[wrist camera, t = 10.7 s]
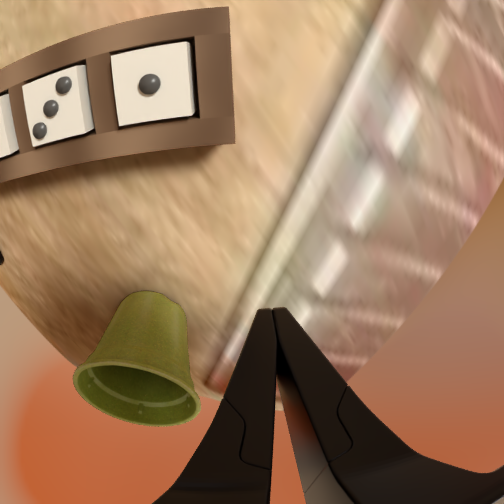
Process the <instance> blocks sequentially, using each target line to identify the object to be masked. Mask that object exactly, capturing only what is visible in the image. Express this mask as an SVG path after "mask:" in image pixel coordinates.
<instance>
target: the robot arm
mask: <svg viewBox="0 0 504 504" xmlns="http://www.w3.org/2000/svg"><path fill="white" fill-rule="evenodd" d="M3 261H4V259H3V257H2V255H1V252H0V265H1V264H2V263H3ZM276 377H277V382H278V387H279V391H280V395H281V400H282V404H283V408H284V412H285V416H286V421H287V425H288V429H289V433H290V437H291V442H292V446H293V450H294V454H295V459H296V463H297V467H298V471H299V475H300V479H301V484H302V488H303V492H304V496H305V500H306V504H504V465H503V466H501V467H500V468H498V469H496V470H495V471H493V472H490V473H477V472H472V471H468V470H465V469H462V468H458V467H455V466H452V465H449V464H446V463H442V462H440V461H437V460H434V459H431V458H428V457H425V456H423V455H421V454H419V453H417V452H416V451H414V450H413V449H411V448H410V447H409V446H408V445H406V444H405V443H404V442H403V441H402V440H401V439H400V438H399V437H398V436H397V435H396V434H395V433H393V432H392V431H391V430H390V429H389V428H388V427H387V426H386V425H385V424H384V423H383V422H382V421H380V420H379V419H378V418H377V417H376V415H375V414H373V413H372V412H371V411H370V410H369V409H368V407H367V406H366V405H365V404H364V403H363V402H362V401H361V400H360V399H359V397H358V396H357V395H356V394H355V392H354V391H353V390H352V389H351V387H350V386H347V385H348V384H347V383H346V381H345V380H344V379H343V378H342V377H341V375H340V374H339V373H338V372H337V370H336V369H335V368H334V367H333V365H332V364H331V363H330V362H329V360H328V359H327V358H326V357H325V355H324V354H323V353H322V352H321V351H320V349H319V348H318V347H317V346H316V344H315V343H314V342H313V341H312V339H311V338H310V337H309V336H308V334H307V333H306V332H305V331H304V329H303V328H302V327H301V326H300V324H299V323H298V322H297V321H296V319H295V318H294V317H293V316H292V314H291V313H290V312H289V311H288V309H287V308H285V307H278V308H273V309H270V308H264V309H258V310H257V312H256V315H255V318H254V320H253V323H252V325H251V328H250V331H249V333H248V336H247V338H246V341H245V343H244V346H243V348H242V351H241V354H240V356H239V359H238V361H237V364H236V366H235V369H234V371H233V374H232V376H231V379H230V381H229V384H228V386H227V389H226V391H225V394H224V396H223V399H222V401H221V403H220V406H219V408H218V410H217V412H216V415H215V417H214V419H213V421H212V423H211V425H210V427H209V429H208V431H207V433H206V434H205V436H204V438H203V440H202V441H201V443H200V445H199V446H198V448H197V449H196V451H195V453H194V454H193V456H192V458H191V459H190V461H189V462H188V464H187V465H186V467H185V469H184V470H183V472H182V473H181V475H180V476H179V477H178V479H177V480H176V481H175V483H174V484H173V485H172V486H171V487H170V488H169V489H168V490H167V491H166V492H165V493H164V494H163V495H162V496H160V497H159V498H158V499H157V500H156V501H154V502H153V503H152V504H270V491H271V475H272V457H273V440H274V419H275V418H274V417H275V397H276Z"/></svg>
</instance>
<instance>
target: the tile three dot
mask: <svg viewBox="0 0 504 504" xmlns="http://www.w3.org/2000/svg"><path fill="white" fill-rule="evenodd" d="M22 89H23V96H24V103H25V109H26V115H27V120H28V126H29V131H30V136H31V140H32V145H33V147H35V146H38V145H41V144H45V143H48V142H52V141H56V140H59V139H63V138H67V137H71V136H75V135H79V134H84V133H87V132H88V131H90V130H92V129H94V128H95V124H94V118H93V111H92V105H91V98H90V90H89V82H88V73H87V65H79V66H74V67H71V68H68V69H65V70H62V71H59V72H57V73H54V74H51V75H48V76H46V77H43V78H41V79H38V80H35V81H33V82H31V83H28V84H26V85H24V86H22Z"/></svg>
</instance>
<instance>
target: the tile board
mask: <svg viewBox="0 0 504 504" xmlns="http://www.w3.org/2000/svg"><path fill="white" fill-rule="evenodd" d="M180 42H188V43H190V44H192V45H193V50H194V66H195V80H196V94H197V106H198V109H197V110H196V111H195V112H194V114H193V115H192V116H183V117H175V118H167V119H160V120H153V121H146V122H140V123H134V124H128V125H122V126H119V121H118V115H117V107H116V100H115V92H114V84H113V74H112V64H111V56H113V55H117V54H121V53H125V52H130V51H134V50H139V49H144V48H149V47H155V46H160V45H167V44H173V43H180ZM79 65H87V73H88V82H89V90H90V98H91V105H92V111H93V118H94V124H95V128H94V129H92V130H90V131H88V132H87V133H84V134H79V135H75V136H71V137H67V138H63V139H59V140H56V141H52V142H48V143H45V144H41V145H38V146H35V147H33V145H32V140H31V136H30V131H29V126H28V120H27V115H26V109H25V103H24V96H23V89H22V86H24V85H26V84H28V83H31V82H33V81H35V80H38V79H41V78H43V77H46V76H48V75H51V74H54V73H57V72H59V71H62V70H65V69H68V68H71V67H74V66H79ZM6 94H9V99H10V106H11V112H12V117H13V123H14V128H15V133H16V138H17V142H18V147H19V149H18V150H17V151H15V152H13V153H12V154H9V155H6V156H4V157H1V158H0V183H2V182H5V181H9V180H12V179H16V178H20V177H23V176H27V175H31V174H35V173H39V172H43V171H48V170H52V169H56V168H61V167H65V166H70V165H75V164H80V163H85V162H90V161H95V160H101V159H106V158H112V157H118V156H125V155H131V154H138V153H145V152H152V151H160V150H169V149H177V148H187V147H197V146H209V145H222V144H235V122H234V103H233V83H232V63H231V41H230V19H229V7H215V8H204V9H195V10H187V11H180V12H173V13H167V14H161V15H155V16H150V17H145V18H141V19H136V20H132V21H127V22H123V23H119V24H115V25H112V26H108V27H105V28H101V29H98V30H94V31H91V32H88V33H85V34H82V35H79V36H76V37H73V38H70V39H68V40H65V41H62V42H60V43H57V44H54V45H52V46H49V47H47V48H45V49H42V50H40V51H38V52H35V53H33V54H31V55H29V56H26V57H24V58H22V59H20V60H18V61H16V62H14V63H12V64H10V65H8V66H6V67H4V68H2V69H0V96H3V95H6Z"/></svg>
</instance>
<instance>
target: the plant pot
mask: <svg viewBox="0 0 504 504" xmlns="http://www.w3.org/2000/svg"><path fill="white" fill-rule="evenodd" d="M73 383H74V386H75V388H76V390H77V392H78V393H79V394H80V396H81V397H82V398H83V399H84V400H85V401H87V402H88V403H89V404H90V405H92V406H93V407H95V408H96V409H98V410H100V411H102V412H103V413H105V414H107V415H110V416H112V417H114V418H117V419H120V420H123V421H126V422H130V423H134V424H139V425H146V426H158V427H159V426H173V425H180V424H183V423H186V422H189V421H191V420H193V419H194V418H195V417H196V416H197V415H198V414H199V412H200V410H201V402H200V398H199V396H198V395H197V393H196V392H195V390H194V384H193V381H192V379H191V377H190V367H189V355H188V342H187V320H186V315H185V313H184V311H183V309H182V308H181V307H180V305H179V304H177V303H174V302H172V301H171V300H169V299H168V298H167V297H165V296H164V295H163V294H160V293H157V292H151V291H140V292H135V293H132V294H130V295H128V296H127V297H126V298H125V299H124V300H123V301H122V302H121V304H120V305H119V307H118V309H117V311H116V312H115V314H114V316H113V318H112V320H111V322H110V323H109V325H108V327H107V329H106V331H105V333H104V334H103V336H102V338H101V340H100V342H99V344H98V345H97V347H96V349H95V351H94V352H93V353H92V354H91V355H90V356H89V357H88V358H87V360H86V362H85V363H83V364H81V365H80V366H79V367H77V369H76V370H75V372H74V375H73Z"/></svg>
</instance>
